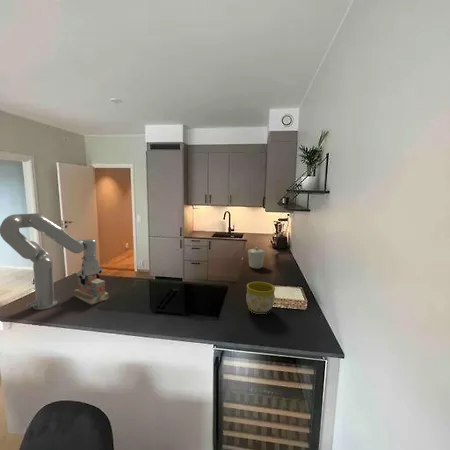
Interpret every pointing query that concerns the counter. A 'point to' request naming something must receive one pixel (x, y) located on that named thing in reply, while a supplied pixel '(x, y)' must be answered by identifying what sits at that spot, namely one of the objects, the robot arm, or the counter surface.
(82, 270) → the robot arm
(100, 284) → the stack of blocks
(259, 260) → the canister
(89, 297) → the birch plinth
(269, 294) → the flowerpot
